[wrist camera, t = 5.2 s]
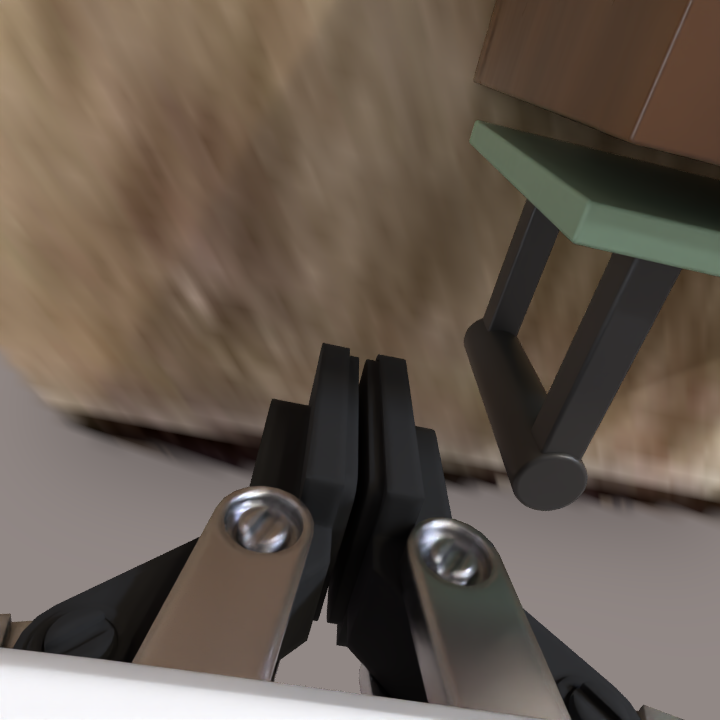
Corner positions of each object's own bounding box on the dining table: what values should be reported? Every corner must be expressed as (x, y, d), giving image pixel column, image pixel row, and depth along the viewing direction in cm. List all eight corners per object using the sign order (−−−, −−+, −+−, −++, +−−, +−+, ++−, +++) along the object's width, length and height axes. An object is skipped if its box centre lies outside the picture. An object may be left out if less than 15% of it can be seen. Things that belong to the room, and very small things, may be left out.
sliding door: (414, 320, 18) (453, 524, 10) (475, 118, 15) (589, 200, 7) (682, 376, 19) (892, 597, 11) (787, 196, 16) (1161, 336, 8)
